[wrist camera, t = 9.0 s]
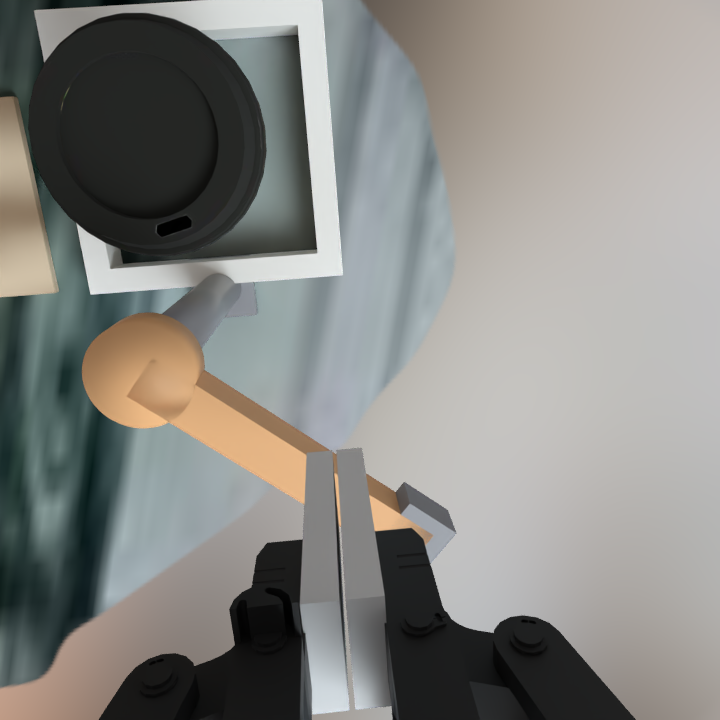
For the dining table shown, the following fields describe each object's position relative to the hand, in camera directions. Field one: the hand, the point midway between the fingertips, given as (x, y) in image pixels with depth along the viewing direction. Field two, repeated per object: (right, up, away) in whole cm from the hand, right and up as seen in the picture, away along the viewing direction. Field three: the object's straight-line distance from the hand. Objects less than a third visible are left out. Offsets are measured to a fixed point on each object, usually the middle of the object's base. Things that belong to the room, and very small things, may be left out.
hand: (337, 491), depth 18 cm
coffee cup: (-9, +17, +20) cm, 28 cm away
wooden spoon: (-3, +1, +7) cm, 7 cm away
